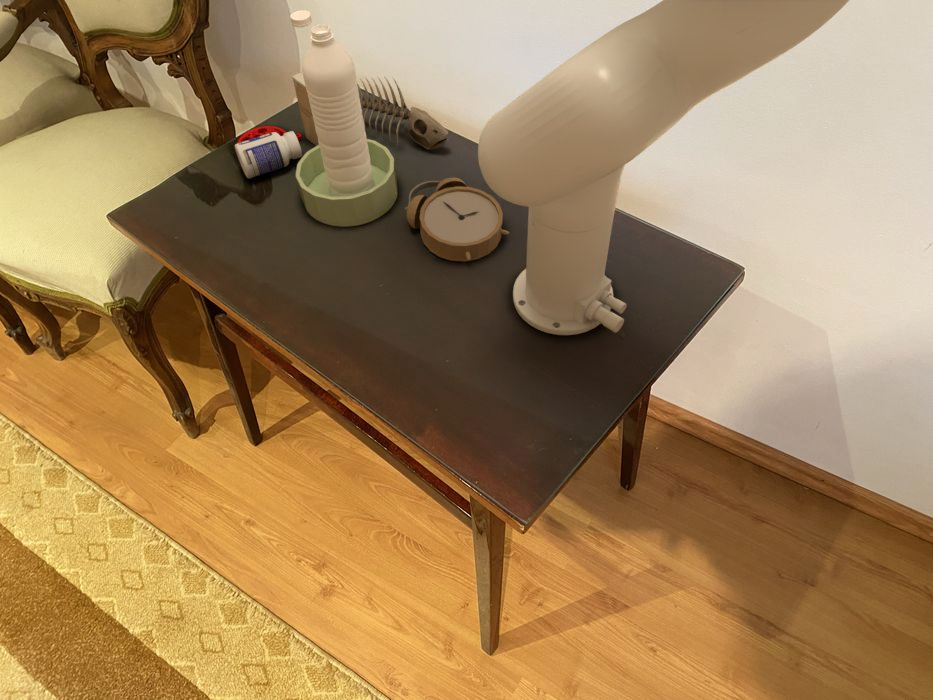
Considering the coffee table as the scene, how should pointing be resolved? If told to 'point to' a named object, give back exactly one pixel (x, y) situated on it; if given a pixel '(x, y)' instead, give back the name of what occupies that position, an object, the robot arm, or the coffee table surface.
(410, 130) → the fish skeleton
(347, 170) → the plastic bottle and lid
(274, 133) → the pill bottle
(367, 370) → the coffee table surface
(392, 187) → the holder
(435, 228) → the alarm clock
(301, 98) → the box
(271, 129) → the ornament
